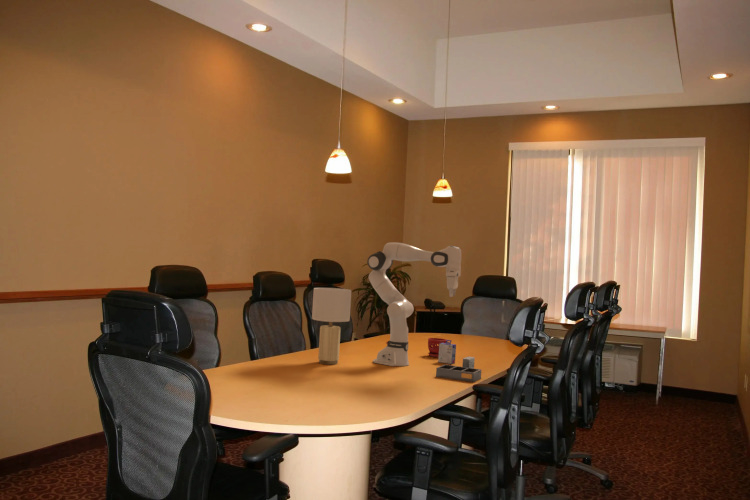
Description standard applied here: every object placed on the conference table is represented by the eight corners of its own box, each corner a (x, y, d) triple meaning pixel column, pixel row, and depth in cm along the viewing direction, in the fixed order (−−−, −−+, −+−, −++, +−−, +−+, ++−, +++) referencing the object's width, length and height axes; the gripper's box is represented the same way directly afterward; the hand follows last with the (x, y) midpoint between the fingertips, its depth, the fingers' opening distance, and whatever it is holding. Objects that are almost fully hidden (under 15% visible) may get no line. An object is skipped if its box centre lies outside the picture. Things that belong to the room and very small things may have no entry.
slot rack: (435, 376, 353) (436, 367, 353) (444, 372, 366) (445, 364, 366) (473, 382, 343) (473, 373, 343) (480, 378, 356) (481, 369, 356)
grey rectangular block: (462, 373, 366) (462, 358, 366) (467, 371, 375) (468, 356, 375) (468, 374, 364) (469, 359, 364) (473, 372, 373) (474, 357, 373)
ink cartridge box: (455, 363, 400) (456, 340, 401) (451, 364, 396) (453, 341, 396) (441, 361, 406) (443, 338, 406) (437, 362, 401) (439, 339, 401)
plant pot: (447, 358, 418) (448, 340, 418) (427, 357, 418) (428, 339, 418) (445, 355, 431) (446, 337, 431) (426, 354, 431) (427, 336, 431)
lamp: (347, 360, 387) (351, 289, 387) (346, 367, 364) (351, 291, 364) (310, 358, 386) (314, 287, 387) (307, 365, 364) (312, 289, 364)
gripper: (450, 272, 382) (449, 295, 382) (445, 273, 363) (444, 297, 363) (460, 273, 381) (459, 295, 381) (456, 273, 361) (455, 297, 361)
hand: (452, 296), depth 372 cm, fingers open, 8 cm apart
